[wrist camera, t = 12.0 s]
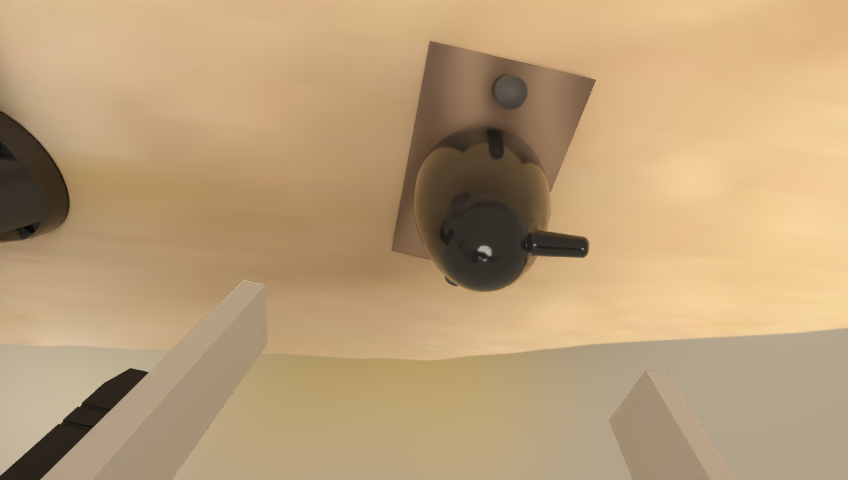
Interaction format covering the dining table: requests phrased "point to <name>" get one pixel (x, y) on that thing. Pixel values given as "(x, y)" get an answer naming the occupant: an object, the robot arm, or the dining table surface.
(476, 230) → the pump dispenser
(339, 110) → the dining table surface
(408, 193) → the holder
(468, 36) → the dining table surface
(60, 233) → the dining table surface
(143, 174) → the dining table surface
